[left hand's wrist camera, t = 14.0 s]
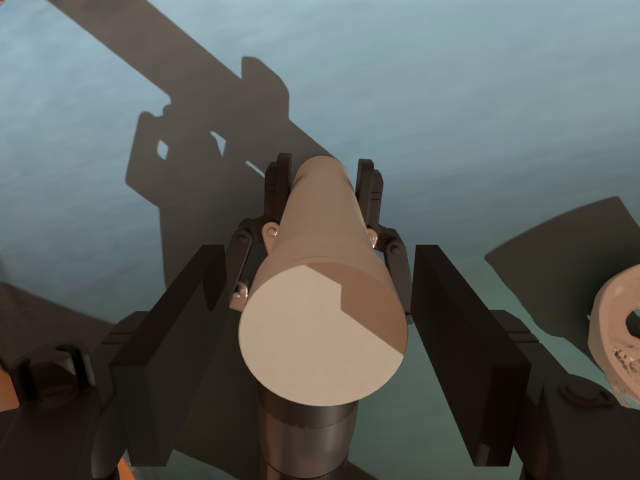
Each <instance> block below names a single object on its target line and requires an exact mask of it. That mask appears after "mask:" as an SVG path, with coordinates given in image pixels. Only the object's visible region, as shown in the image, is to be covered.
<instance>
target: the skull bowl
mask: <svg viewBox="0 0 640 480" xmlns="http://www.w3.org/2000/svg"><path fill="white" fill-rule="evenodd" d="M636 309H639V310H640V264H638V265H635V266H632V267H630V268H628V269H626V270H624V271H622V272H620V273H619V274H617V275H615V276H614V277H612V278H611V279H609V280H608V281H607V282H606V283H605V284H604V285H603V286H602V287H601V289H600V290H599V291H598V293H597V295H596V297H595V300H594V305H593V309H592V312H591V317H590V325H589V336H588V347H589V349H590V352H591V354H592V356H593V358H594V360H595V361H596V363H597V364H598V365H599V366H600V368H601V369H602V370H603V372H604V373H605V374H606V380H607V381H608V382H610V386H611V389H612V391H613V392H614V394H615V396H616V397H617V398H618V399H619V400H620V402H621V403H622V404H623V405H624V406H625V407H628V408H632V407H631V406H630V405H629V404H628V403H627V402H625V401H624V400H623V398H622V397H621V395H620V391H622V392H623V393H624V394H625V395H626V396H628V397H629V398H631V399H633V400H634V401H636V402H637V403H639V404H640V339H638V338H636V337H634V336H631V335H630V333H629V332H628V330H627V327H626V322H625V321H626V318H627V316H628V315H629V314H630V313H631V312H632V311H633V310H636ZM632 409H633V408H632Z"/></svg>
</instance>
